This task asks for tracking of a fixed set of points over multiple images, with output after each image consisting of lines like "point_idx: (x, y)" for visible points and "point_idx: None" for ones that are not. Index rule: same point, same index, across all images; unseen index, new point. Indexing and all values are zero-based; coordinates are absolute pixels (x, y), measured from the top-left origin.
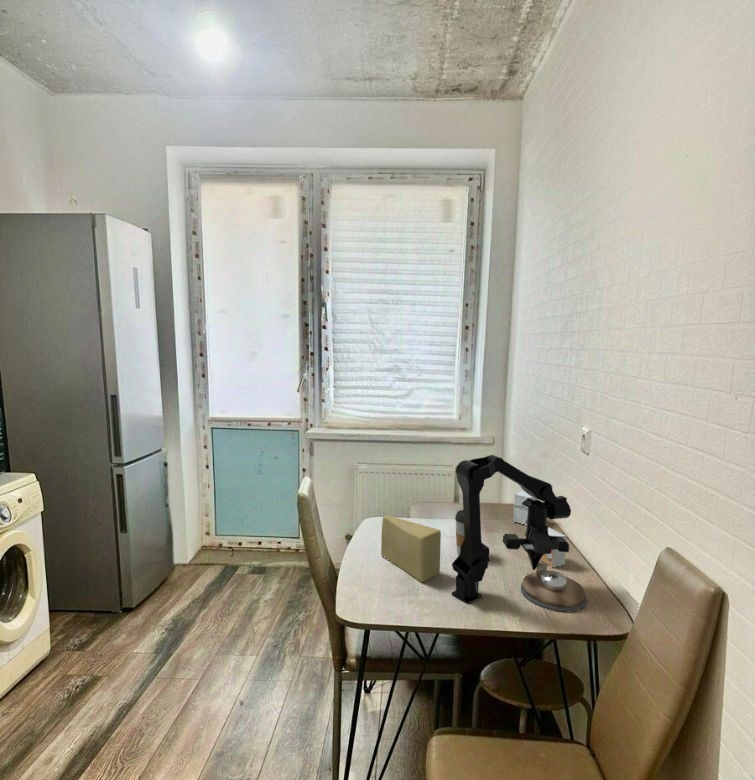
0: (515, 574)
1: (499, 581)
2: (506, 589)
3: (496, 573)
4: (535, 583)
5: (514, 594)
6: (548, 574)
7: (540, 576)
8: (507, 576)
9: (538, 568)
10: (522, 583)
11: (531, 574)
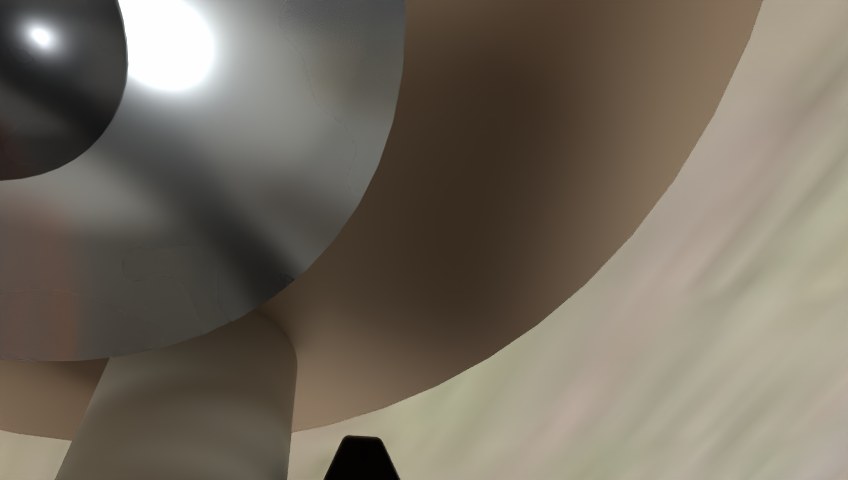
0: (471, 457)
1: (759, 337)
2: (821, 161)
3: (670, 471)
4: (462, 112)
5: (819, 13)
6: (118, 159)
7: (251, 319)
8: (590, 424)
9: (267, 462)
10: None
11: (371, 391)
